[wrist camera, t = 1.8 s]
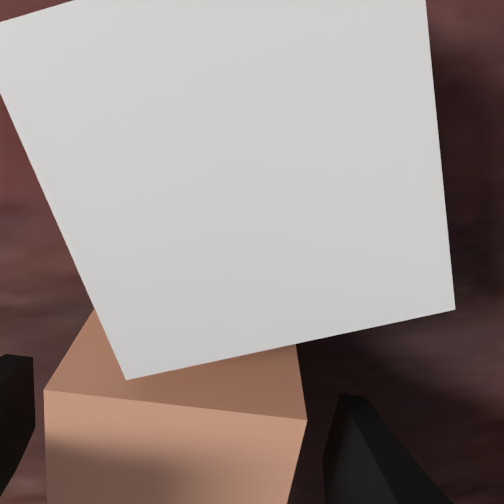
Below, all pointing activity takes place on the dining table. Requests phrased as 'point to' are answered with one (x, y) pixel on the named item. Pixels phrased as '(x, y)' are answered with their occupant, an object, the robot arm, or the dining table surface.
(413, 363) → the dining table surface
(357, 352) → the dining table surface
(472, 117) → the dining table surface
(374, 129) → the white cube
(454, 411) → the dining table surface
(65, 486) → the terracotta cube
